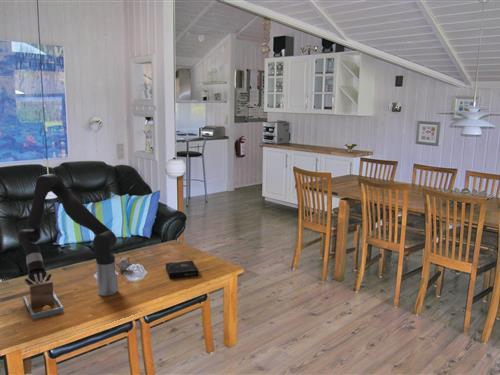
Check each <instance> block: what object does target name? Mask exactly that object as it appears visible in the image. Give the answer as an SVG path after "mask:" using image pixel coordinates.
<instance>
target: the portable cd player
mask: <svg viewBox="0 0 500 375" xmlns="http://www.w3.org/2000/svg"><path fill="white" fill-rule="evenodd" d="M165 271H166V274H167V276H168V278H169V280H174V279H182V278H185V279H186V278H191V277H193V278H194V277H198V276H199V270H198V268H197V266H196V264H195V262H194V260H183V261H177V262H166V263H165Z"/></svg>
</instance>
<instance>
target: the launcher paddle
mask: <svg viewBox="0 0 500 375" xmlns="http://www.w3.org/2000/svg"><path fill="white" fill-rule="evenodd" d="M45 281H46V280H45ZM45 281H43V282H41V283H40V282H39V283H36V284H35V283H34V284H31V285H28V286H29V294H30V306H31V309H33V308H38V307H42V306H43V307H44V306H46V305H52V304H54V303H55V300H54V294H53V291H54V284H53V283H54V282H53V281H52V280H49V281H46V282H45Z"/></svg>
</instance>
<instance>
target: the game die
mask: <svg viewBox="0 0 500 375" xmlns="http://www.w3.org/2000/svg"><path fill="white" fill-rule="evenodd" d="M119 258H120V259H119V261H118V262H117V263H115V266H116V265H117V267H118V269H119V271H126V269H127V268H128V267H129V266H130V265H131V266H132V265H133V264H132V263H131V261H130V259H129V258H130V257H128V258H127V257H126V258H123V257H122V256H121V257H119ZM131 266H130V267H131ZM130 267H129V268H130Z"/></svg>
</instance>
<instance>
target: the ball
mask: <svg viewBox="0 0 500 375" xmlns="http://www.w3.org/2000/svg"><path fill="white" fill-rule="evenodd" d="M51 309H52V307H51V305H50V304H47V305H43V307H42V309H41V312H43V311H47V310H51Z"/></svg>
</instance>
